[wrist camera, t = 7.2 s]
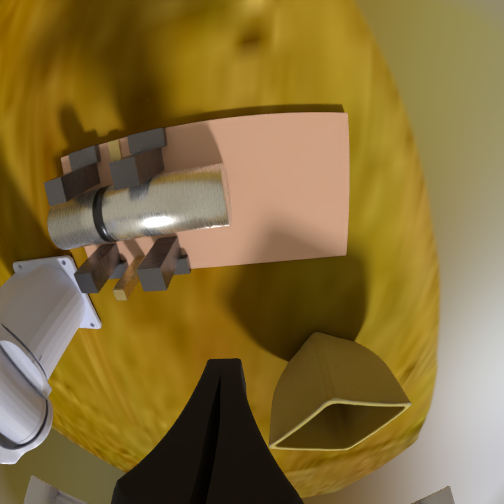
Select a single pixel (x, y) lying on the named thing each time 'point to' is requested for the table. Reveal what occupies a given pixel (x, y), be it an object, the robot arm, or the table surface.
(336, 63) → the table surface
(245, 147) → the tile
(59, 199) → the rail
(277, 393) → the flower pot
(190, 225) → the tube
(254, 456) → the robot arm
